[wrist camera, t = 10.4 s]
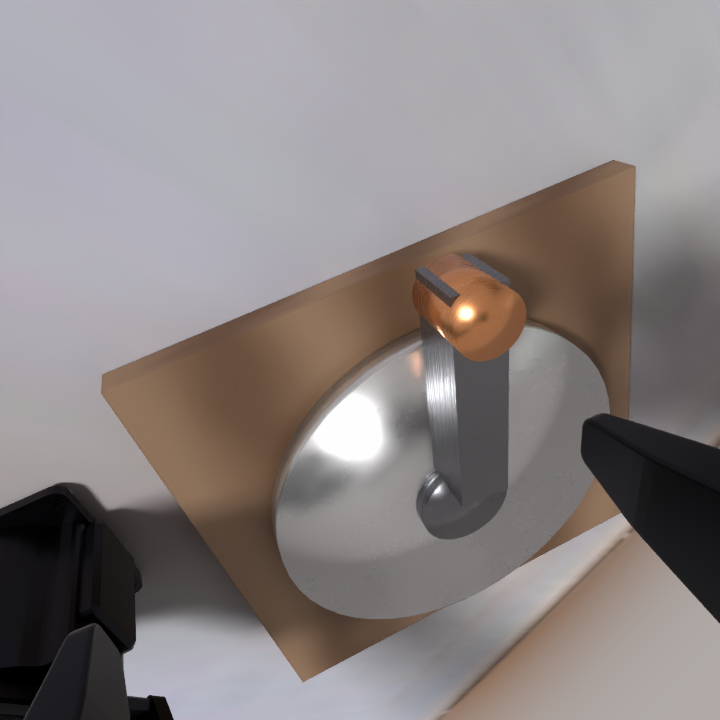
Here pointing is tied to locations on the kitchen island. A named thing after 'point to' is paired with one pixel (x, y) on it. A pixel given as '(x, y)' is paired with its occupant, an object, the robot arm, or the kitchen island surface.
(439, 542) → the handwheel
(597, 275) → the wheel base
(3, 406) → the kitchen island surface
